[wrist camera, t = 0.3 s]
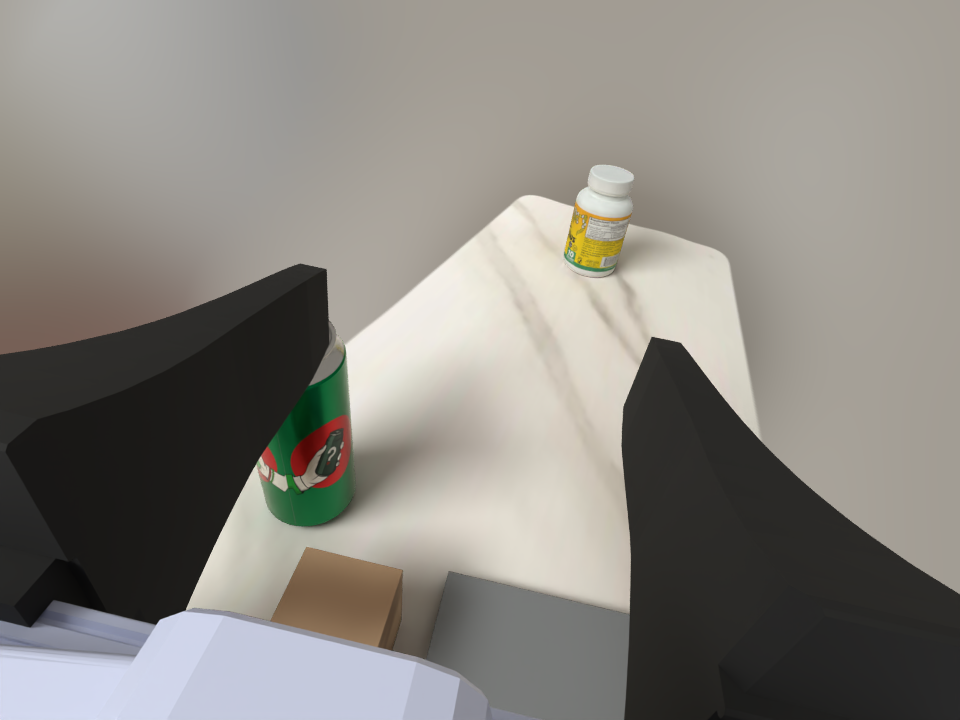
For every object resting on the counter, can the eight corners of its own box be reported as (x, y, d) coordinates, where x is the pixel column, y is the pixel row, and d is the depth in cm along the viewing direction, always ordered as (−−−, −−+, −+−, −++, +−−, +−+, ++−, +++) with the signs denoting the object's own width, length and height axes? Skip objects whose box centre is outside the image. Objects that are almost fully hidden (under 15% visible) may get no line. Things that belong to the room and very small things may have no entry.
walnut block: (370, 719, 24) (367, 677, 21) (274, 694, 25) (256, 648, 22) (401, 619, 28) (402, 570, 25) (316, 598, 28) (306, 546, 25)
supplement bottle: (613, 283, 54) (642, 190, 48) (559, 272, 55) (581, 178, 48) (614, 256, 58) (641, 167, 52) (564, 246, 59) (585, 157, 52)
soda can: (365, 466, 35) (357, 312, 27) (341, 538, 31) (324, 382, 23) (285, 454, 35) (254, 296, 27) (252, 525, 31) (204, 364, 23)
